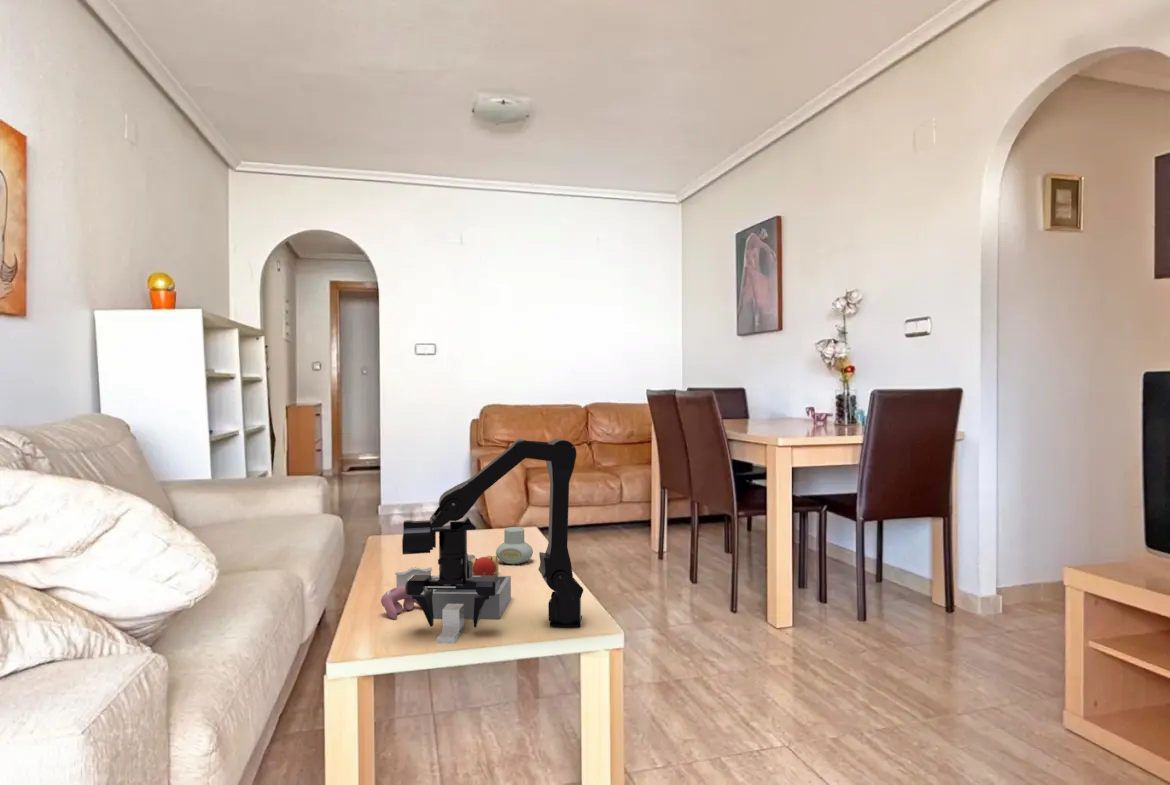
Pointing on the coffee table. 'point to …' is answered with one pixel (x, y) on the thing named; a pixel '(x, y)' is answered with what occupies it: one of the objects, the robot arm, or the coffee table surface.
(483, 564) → the kendama
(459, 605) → the grey stepped block
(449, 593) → the open box
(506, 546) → the air freshener
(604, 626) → the coffee table surface
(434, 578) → the garden wall model
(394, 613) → the video game controller
